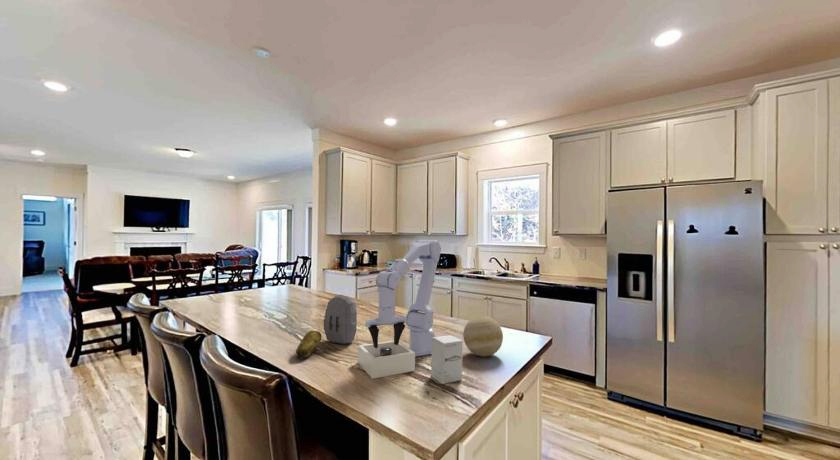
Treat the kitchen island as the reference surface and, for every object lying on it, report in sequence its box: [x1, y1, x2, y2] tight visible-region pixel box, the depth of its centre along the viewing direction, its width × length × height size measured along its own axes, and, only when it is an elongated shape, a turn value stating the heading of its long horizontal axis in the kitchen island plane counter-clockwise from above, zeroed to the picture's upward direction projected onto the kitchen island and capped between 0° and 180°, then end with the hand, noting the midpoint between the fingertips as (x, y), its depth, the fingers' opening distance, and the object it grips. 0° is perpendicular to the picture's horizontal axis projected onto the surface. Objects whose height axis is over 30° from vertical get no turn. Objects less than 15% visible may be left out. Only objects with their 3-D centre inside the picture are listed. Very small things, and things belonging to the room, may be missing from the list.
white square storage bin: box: [357, 340, 416, 379], centre depth 117 cm, size 15×15×6 cm
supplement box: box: [430, 334, 463, 385], centre depth 109 cm, size 7×7×13 cm
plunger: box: [375, 347, 394, 358], centre depth 117 cm, size 11×11×5 cm
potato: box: [295, 330, 322, 360], centre depth 127 cm, size 8×13×8 cm, turn 154°
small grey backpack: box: [322, 294, 358, 345], centre depth 142 cm, size 15×8×20 cm, turn 66°
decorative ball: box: [462, 315, 504, 358], centre depth 130 cm, size 15×15×15 cm
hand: (386, 345), depth 117 cm, fingers open, 7 cm apart
